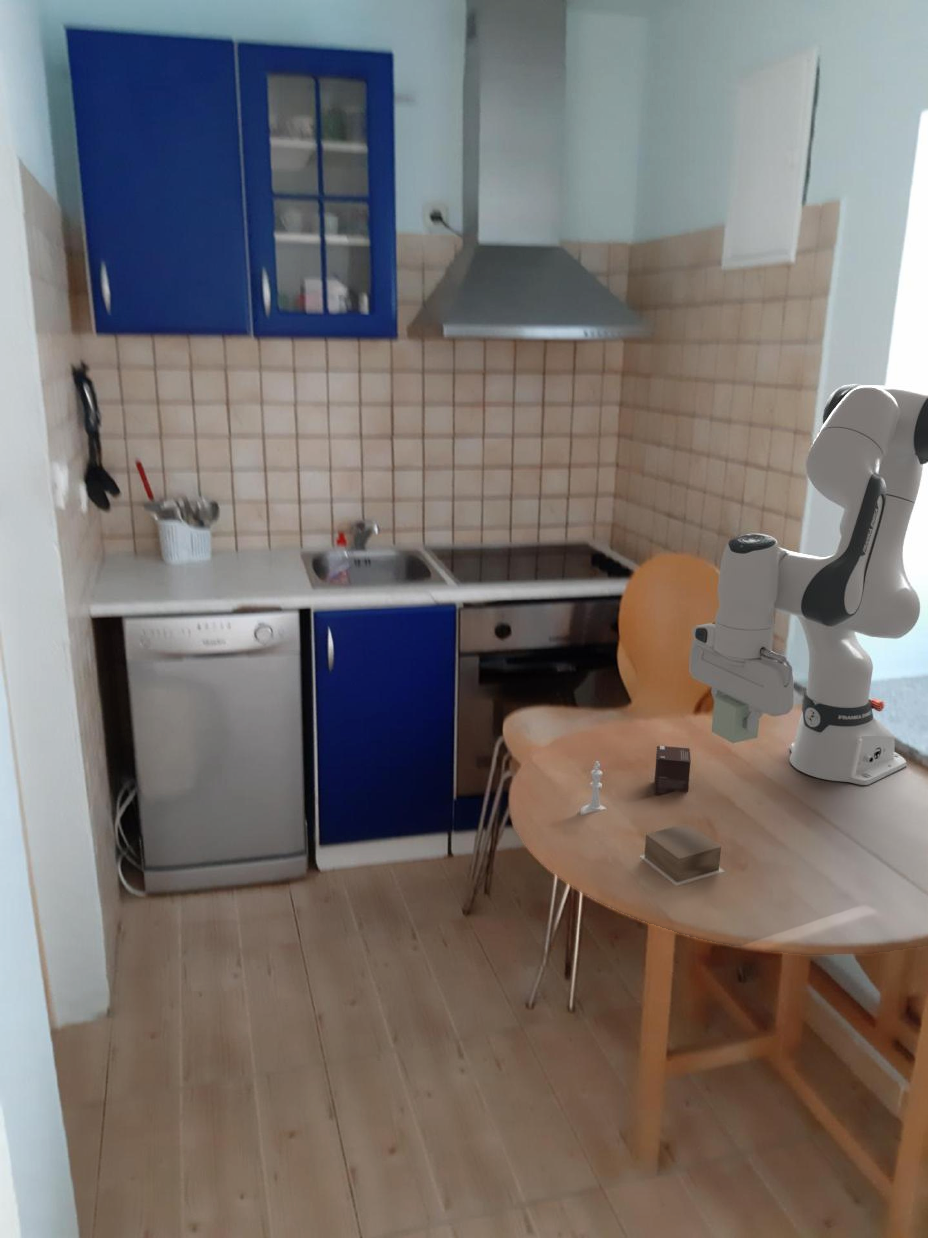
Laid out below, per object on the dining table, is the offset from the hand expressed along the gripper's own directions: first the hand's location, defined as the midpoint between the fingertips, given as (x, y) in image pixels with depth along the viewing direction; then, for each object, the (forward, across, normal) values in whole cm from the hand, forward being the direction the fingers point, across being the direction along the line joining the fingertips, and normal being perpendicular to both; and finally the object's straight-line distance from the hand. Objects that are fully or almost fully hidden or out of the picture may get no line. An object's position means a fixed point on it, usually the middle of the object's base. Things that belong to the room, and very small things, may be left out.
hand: (735, 722), depth 151 cm
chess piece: (+21, +16, +15) cm, 30 cm away
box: (+21, +18, -3) cm, 28 cm away
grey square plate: (+21, -5, +11) cm, 24 cm away
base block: (+19, -5, +13) cm, 24 cm away
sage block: (+2, 0, 0) cm, 2 cm away
